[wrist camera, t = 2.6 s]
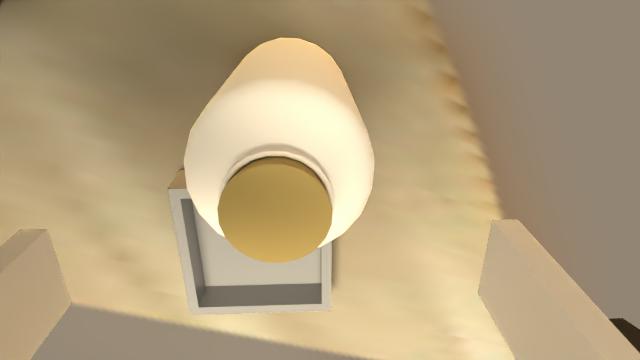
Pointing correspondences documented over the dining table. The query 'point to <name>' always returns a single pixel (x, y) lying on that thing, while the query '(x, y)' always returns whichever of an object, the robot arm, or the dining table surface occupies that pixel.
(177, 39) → the dining table surface
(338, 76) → the potion bottle
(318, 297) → the grey square tray
